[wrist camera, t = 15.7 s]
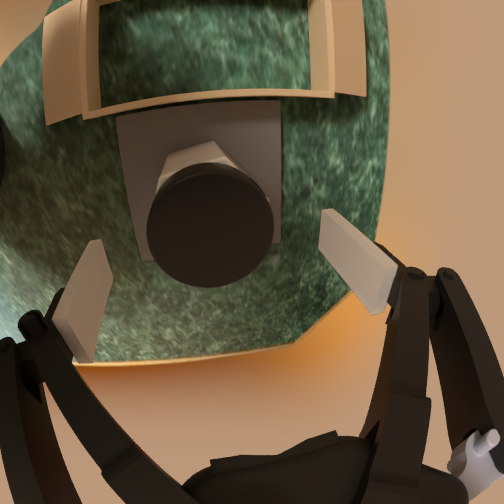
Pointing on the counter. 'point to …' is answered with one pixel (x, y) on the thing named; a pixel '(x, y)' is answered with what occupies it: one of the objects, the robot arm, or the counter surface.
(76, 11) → the carton
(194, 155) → the jar
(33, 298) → the counter surface
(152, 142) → the mat
